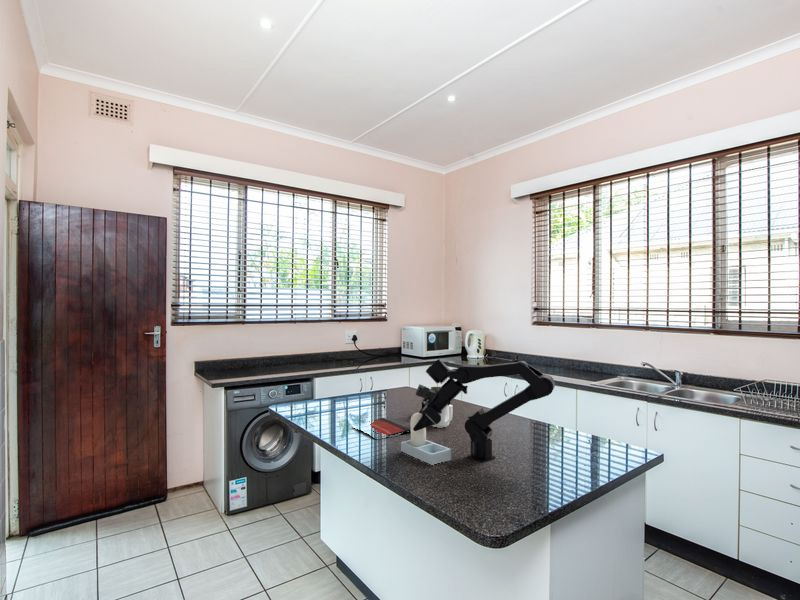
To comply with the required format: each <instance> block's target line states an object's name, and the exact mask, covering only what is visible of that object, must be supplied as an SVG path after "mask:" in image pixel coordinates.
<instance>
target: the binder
mask: <svg viewBox="0 0 800 600" xmlns="http://www.w3.org/2000/svg"><path fill="white" fill-rule="evenodd" d="M373 420H374V422H373V423H371V424H370V425H371V426H372V428H374V429H375V430H377V432H380V433H383V434H386V435H388V436H390V435H395V434H398V433H402V432H405V433H407V432H406V431H409V432H411V428H408V427H406V426H404V425H402V424H399V423H396V422H393V421H392V420H389V419H387V418H385V417H381V418H378V419H373ZM373 432H374V431H373ZM375 433H376V432H375ZM377 434H378V433H377Z"/></svg>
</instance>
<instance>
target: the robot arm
mask: <svg viewBox="0 0 800 600" xmlns="http://www.w3.org/2000/svg"><path fill="white" fill-rule="evenodd" d="M425 373H426V374H427V375H428V376H429V377H430V378H431V380H433V381H434V383H435V384H441V386H440V387H441V388H440V389H436V390H435V391H433V390H431V388H429V387H427V386H424V385H423V384H418V387H417V389H416V390H415V396H418V397H421V398H422V399H421V407H420V409H419V411H418V413H422V417H421V418H420V419H419V421H418V422H417V424H416V425H415V426H414V428H413V430H414V431H418V430H420V429H423V428H426V429H427V428H428V427H431V426H432V425H435V424H438V423H439V422H440V421H441V413H442V410H443V409H444V408H445V407H446V406H447V405H452V401H453V400H454V399H455V398H456V397H457V396H458V395H459V394H460V393H461V392H463V393H464V394H465V395H468V385H465V384H469V383H474V382H476V381H478V380H482V379H486V378H487V379H488V378H496V377H505V376H507V377H508V376H515V375H517V376H519V377H521V378H523V380H525V381H526V382H527V383H528V386H526V387H525V388H524V389H523V390H521V391H519V392H518V393H516V394H514V395H512V396H510V397H509V398H507V399H506V400H504V401H502V402H500V403H499V404H497V405H495V406H494V407H492V408H489V409H487V410H484V408H483V407H481V408H480V409H478V410H477V411H474V412H472V413H470V415H469V416H467V419H466V421H465V422H464V430H465V431H466V433H467V434H468V436H469V438H470V454H468V455H467V457H468V458H470V459H473V460H476V461H478V462H481V463H484V462H487V461H490V460H493V459H495V458H496V456H495V455H494V454H493V440H492V439H491V438H490V437H492V435H493V432H494V430H493V429H492V427H491V426H490V425H492V423H493V422H495V421H497V420H499V419H501V418H502V417H504V416H506V415H507V414H509V413H512V412H513V411H514V410H516V409H518V408H520V407H521V406H524V405H525V404H526V403H527V404H528V403H529V402H531V401H536V400H538V399H542V398H545V397H548V396H549V395H551V394H552V393H553V391H554V390H555V386H556V381H555V379H554V377H553V376H551V375H550V374H547V373H543V372H542V371H540V370H538V369H537V368H535V367H533V366H532V365H530V364H528V362H526V361H524V360H519V361H517V362H507V363H497V364H496V363H495V364H489V365H479V364H468V363H467V364H463V365H461V366H458V367H457V368H451V369H450V367H448V366H447V365H446V364H445V362H444V360H442V359H441V358H439V359H436V361H435V362H433V363H432V364H431V365H430V366H428V367H427V369H426V370H425Z"/></svg>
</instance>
